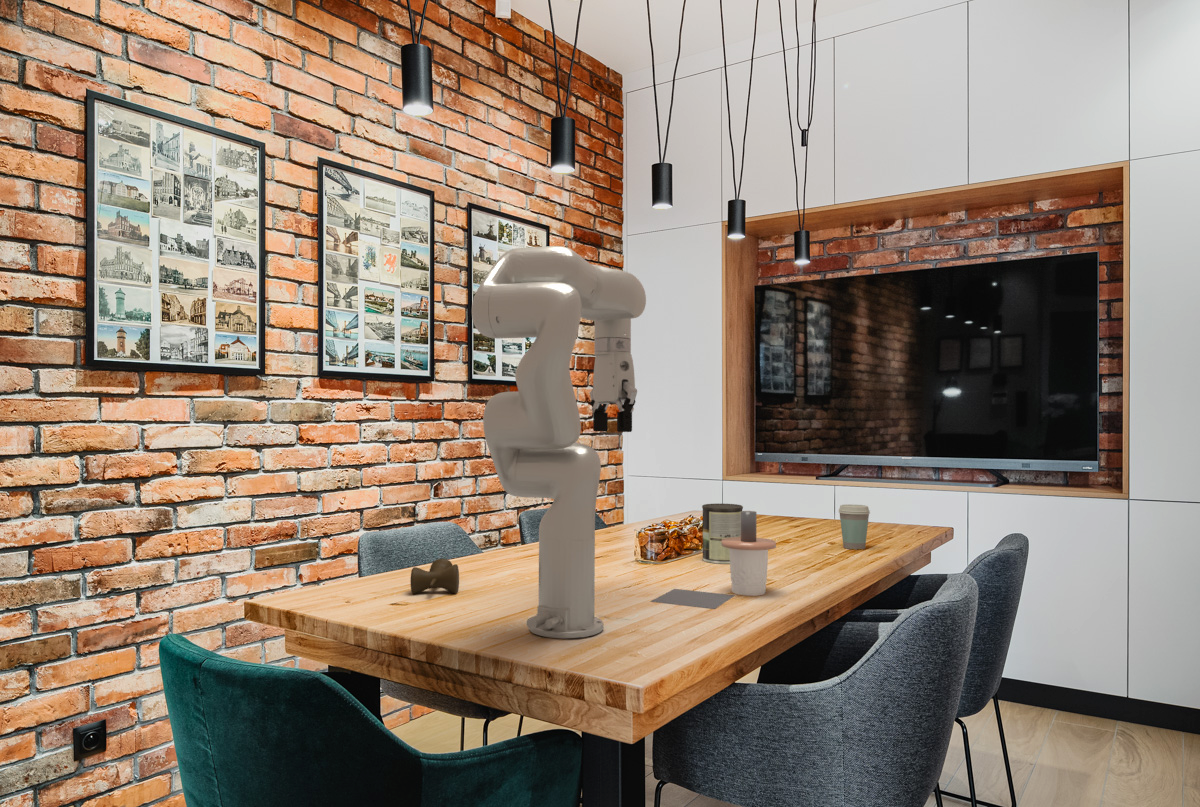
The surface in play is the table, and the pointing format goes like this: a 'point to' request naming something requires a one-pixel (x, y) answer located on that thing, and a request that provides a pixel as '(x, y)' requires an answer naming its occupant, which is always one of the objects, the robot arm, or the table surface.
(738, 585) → the white cup
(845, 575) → the table surface
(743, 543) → the lid
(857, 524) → the coffee cup
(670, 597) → the mat
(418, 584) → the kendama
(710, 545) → the coffee can
